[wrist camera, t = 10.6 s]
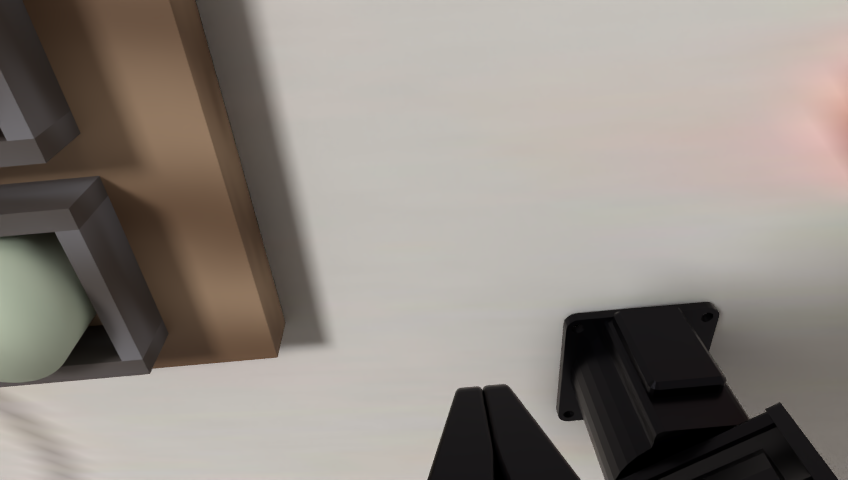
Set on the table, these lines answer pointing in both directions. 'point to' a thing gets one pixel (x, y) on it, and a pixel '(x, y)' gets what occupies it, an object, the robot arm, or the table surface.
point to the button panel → (133, 183)
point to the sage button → (38, 307)
